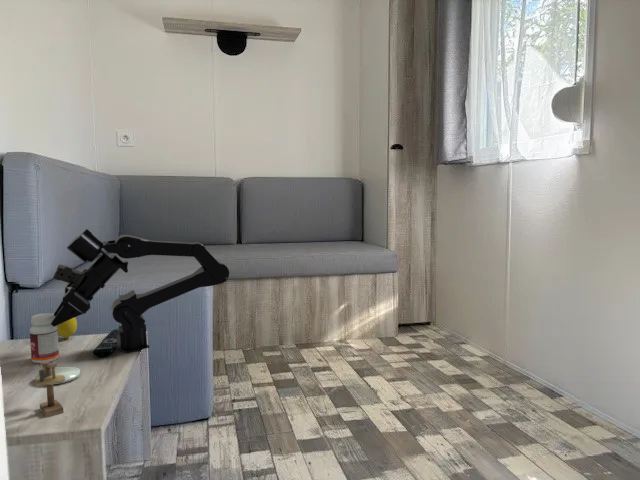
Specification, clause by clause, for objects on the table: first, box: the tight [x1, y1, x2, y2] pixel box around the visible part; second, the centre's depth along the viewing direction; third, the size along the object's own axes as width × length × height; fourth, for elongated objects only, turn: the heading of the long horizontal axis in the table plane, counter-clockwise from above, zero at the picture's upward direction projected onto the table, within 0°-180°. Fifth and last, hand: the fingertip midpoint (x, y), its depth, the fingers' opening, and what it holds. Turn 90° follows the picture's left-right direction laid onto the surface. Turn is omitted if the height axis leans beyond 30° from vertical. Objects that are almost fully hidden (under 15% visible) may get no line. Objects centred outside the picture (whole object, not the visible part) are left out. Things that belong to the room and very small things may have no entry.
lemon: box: [57, 317, 78, 340], centre depth 147 cm, size 6×6×8 cm
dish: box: [35, 366, 81, 385], centre depth 117 cm, size 9×9×1 cm
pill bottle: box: [29, 312, 60, 364], centre depth 130 cm, size 6×6×11 cm
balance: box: [34, 361, 65, 418], centre depth 101 cm, size 11×4×10 cm, turn 41°
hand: (53, 320), depth 130 cm, fingers open, 9 cm apart
